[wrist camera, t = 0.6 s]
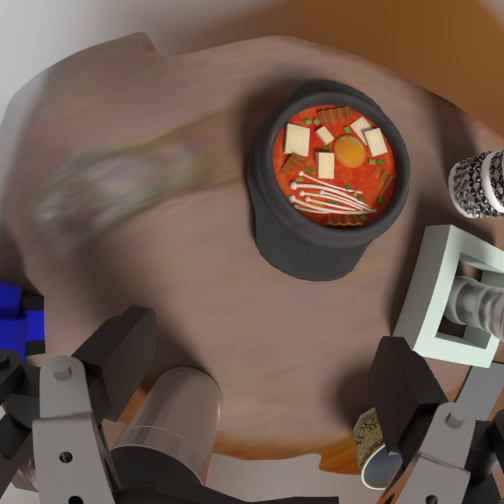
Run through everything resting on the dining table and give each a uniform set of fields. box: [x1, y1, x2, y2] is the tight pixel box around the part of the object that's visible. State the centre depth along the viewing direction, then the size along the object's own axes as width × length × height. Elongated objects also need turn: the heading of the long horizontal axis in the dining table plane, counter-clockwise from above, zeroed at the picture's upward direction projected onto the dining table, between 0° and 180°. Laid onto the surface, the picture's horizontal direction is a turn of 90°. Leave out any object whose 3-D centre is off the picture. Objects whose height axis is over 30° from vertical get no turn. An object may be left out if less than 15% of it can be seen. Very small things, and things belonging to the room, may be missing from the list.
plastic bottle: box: [443, 276, 504, 342], centre depth 26 cm, size 6×7×20 cm
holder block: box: [392, 224, 504, 368], centre depth 33 cm, size 16×16×6 cm
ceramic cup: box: [353, 407, 402, 489], centre depth 32 cm, size 13×10×10 cm
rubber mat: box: [454, 362, 504, 421], centre depth 36 cm, size 12×12×1 cm
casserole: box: [246, 81, 410, 281], centre depth 31 cm, size 25×19×8 cm
